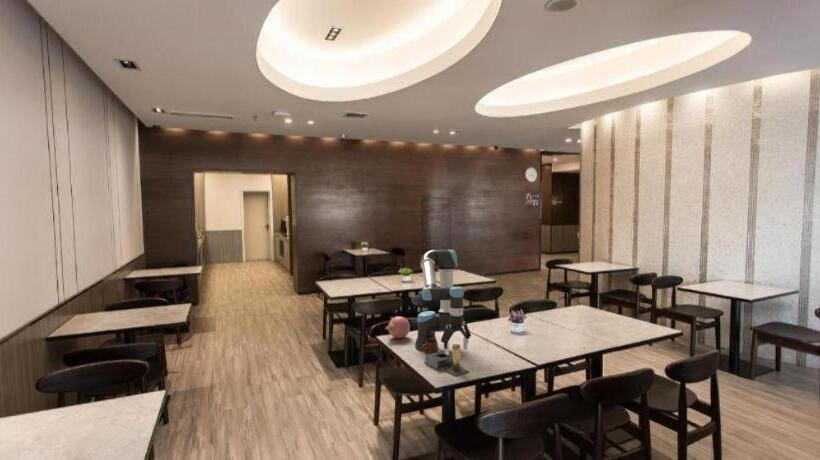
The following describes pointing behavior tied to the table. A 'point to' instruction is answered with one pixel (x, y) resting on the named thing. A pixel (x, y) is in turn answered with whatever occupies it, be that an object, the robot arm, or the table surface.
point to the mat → (454, 373)
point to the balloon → (398, 327)
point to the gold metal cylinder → (456, 357)
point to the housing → (439, 360)
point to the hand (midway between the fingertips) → (456, 351)
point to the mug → (430, 347)
